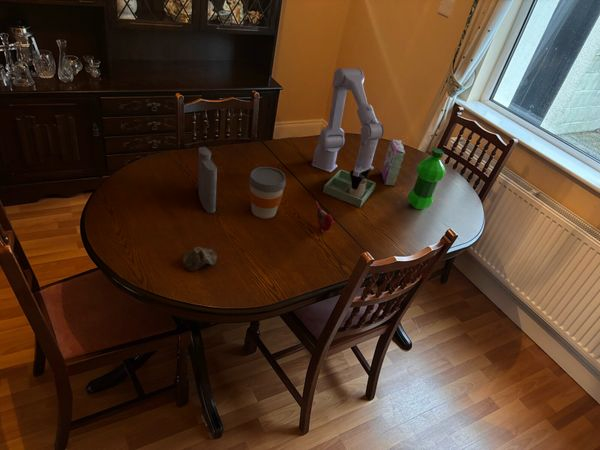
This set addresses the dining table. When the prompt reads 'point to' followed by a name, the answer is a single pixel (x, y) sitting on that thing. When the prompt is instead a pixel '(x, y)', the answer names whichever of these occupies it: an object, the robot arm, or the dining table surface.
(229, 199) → the dining table surface
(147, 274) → the dining table surface
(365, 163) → the robot arm
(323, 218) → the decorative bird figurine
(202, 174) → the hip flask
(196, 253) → the grey lumpy rock
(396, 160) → the candy bar box
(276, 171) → the reusable coffee cup
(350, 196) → the green divided tray
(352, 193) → the paper cup
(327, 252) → the dining table surface
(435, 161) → the plastic bottle
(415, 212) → the dining table surface
